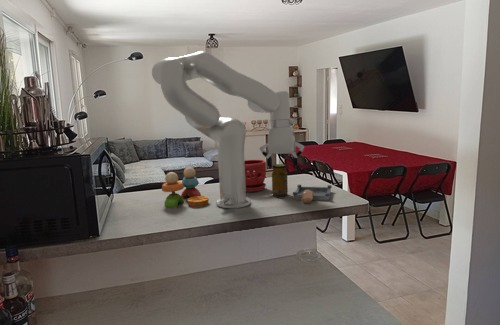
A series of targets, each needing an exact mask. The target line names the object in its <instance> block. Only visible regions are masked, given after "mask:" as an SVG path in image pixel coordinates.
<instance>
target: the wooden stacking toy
mask: <svg viewBox="0 0 500 325" xmlns="http://www.w3.org/2000/svg"><path fill="white" fill-rule="evenodd" d="M196 173H197V172H196V170H195V169H194V168H193V167H192V166H191V167H190V166H188V167H186V168H184V170H183V178H182V181H180V180H179V176H178V174H177V173H176V172H173V171H170V172H167V173H166V175H165V177H164V179H165V182H164V183H162V186H161V192H165V193H169V194H168V195H167V197H166V198H165V201H164V207H165V208H171V209H172V208H178V206H179V203H181V204H184V203H185V201H184V198H186V197H189V198H187V202H188V206H189V207H194V208H195V207H196V208H200V207H204V206H207V205H208V204H209V199H210V198H209V197H208V196H205V195H202V193H201V192H200V190H199V189H198V188H197V187H198V185H199V184H200V183H199V180H198V178H197V177H196ZM183 189H184V190H183ZM181 190H183V191H182V192H181V194H179V193H176V192H178V191H181Z"/></svg>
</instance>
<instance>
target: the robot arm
mask: <svg viewBox="0 0 500 325" xmlns="http://www.w3.org/2000/svg"><path fill="white" fill-rule="evenodd" d="M151 77H152V79H153V80H154V81H155V82H156V83H157V84H158V85H160V88H161V92H162V95H163V96H164V99H165V101H166V102H167V103H168V105H170V106H171V107H172V108H174V109H175V110H176V111H177V112H179V113H180V114H182V115H183V116H184V119H185V121H186V122H187V123H188V124H189V126H190V127H192V128H194V129H195V130H197V131H198V132H200V133H201V134H203V135H205V136H206V137H208V138H209V139H211V140H212V141H215V142H217V143H218V150H217V161H218V162H217V163H218V178H219V179H218V181H219V199H217V200H216V203H215V204H216V206H217V207H218V208H223V209H237V208H238V209H239V208H240V209H241V208H244V207H247V206H249V205H250V204H251V199H250V198H249V197H247V191H246V183H245V161H244V160H245V144H246V143H245V142H246V138H247V136H246V134H247V133H246V132H247V131H246V128H245V125H244V123H243V122H242V121H241V120H239V119H238V118H234V117H229V116H228V117H227V116H226V117H225V116H223V115H221V114H220V111H219V109H218V108H217V106H216V105H214V103H212V102H210V101H208V100H207V99H206V98H205V97H203V96H201V95H199V94H198V93H197V92H195V91H194V90H193V89H192V88H190V86H189V85H188V83H187V81H191V80H195V79H199V78H200V79H201V80H203V81H205V82H206V83H208V84H210V85H211V86H213V87H215V88H216V89H218V90H219V91H220V92H222V93H225V94H227V95H229V96H233V97H238V98H242V99H244V100H247V106H248V108H249V109H250V110H251V111H252V112H255V113H261V114H262V113H266V114H267V113H269V117H270V127H269V128H268V136H267V138H268V141H267V143H265V144H263V145H261V146H260V147H259V150H260V152H261V153H262V154H261V155H263V156H264V157H265V158H266V160H267V161H266V162H267V163H266V166H267V167H268V168H269V169H270V170H271V169H273V158H272V155H274V154H275V155H280V154H281V155H283V154H284V155H285V154H287V155H288V154H290V155H292V156H293V159H292V161H293V162H292V164H293V169H296V168H297V167H298V166H299V160H298V159H299V158H298V157H300V155H302V153H303V151H304V149H305V145H303V144H301V143H299V142H296V139H295V138H296V137H295V132H294V131H295V130H294V127H293V126H291V125H294V124H295V120H292V119H291V111H290V110H291V108H290V94H289V92H288V91H287V90H275V91H274V90H272V89H271V88H269V87H268V86H266V85H265V84H264V83H262V82H260V81H258V80H256V79H254V78H252V77H250V76H247V75H245V74H243V73H241V72H239V71H237V70H235V69H234V68H232V67H230V66H229V65H227V64H226V63H225V62H223V61H221V60H220V59H219V58H217V57H216V56H214V55H213V54H211V53H209V52H208V51H204V50H200V51H197V52H194V53H193V52H192V53H190V54H187V55H184V56H183V55H182V56H179V57H166V58H164V59H161V60H158V61H157V62H156V63H154V65H153V66H152V68H151ZM296 147H297V148H298V150H299V151H298V152H296ZM266 148H268V152H267V151H266ZM269 169H268V170H269Z"/></svg>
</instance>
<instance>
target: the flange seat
mask: <svg viewBox="0 0 500 325" xmlns="http://www.w3.org/2000/svg"><path fill="white" fill-rule="evenodd" d="M331 193H332V185H331V184H328V185H327V186H302V184H297V185H296V189H295V191H293V192H292V194H293V195H294V196H293V200H297V201H299V200H301V202H302V203H303V204H306V205H307V204H308V205H309V204H310V203H312V201H326V202H327V201H328V202H329V201H330V198H331Z"/></svg>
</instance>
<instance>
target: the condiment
mask: <svg viewBox="0 0 500 325" xmlns="http://www.w3.org/2000/svg"><path fill="white" fill-rule="evenodd" d="M271 186H272V188H271V189H272V190H271V191H272V192H271V193H268V194H267V195H268V196H270V197H275V198H278V199H279V198H280V199H286V198H291V197H294V195H293V193H289V190H288V171H287V165H286V164H283V163H281V164H280V163H276V164H272V173H271ZM272 194H273V195H272Z"/></svg>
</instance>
